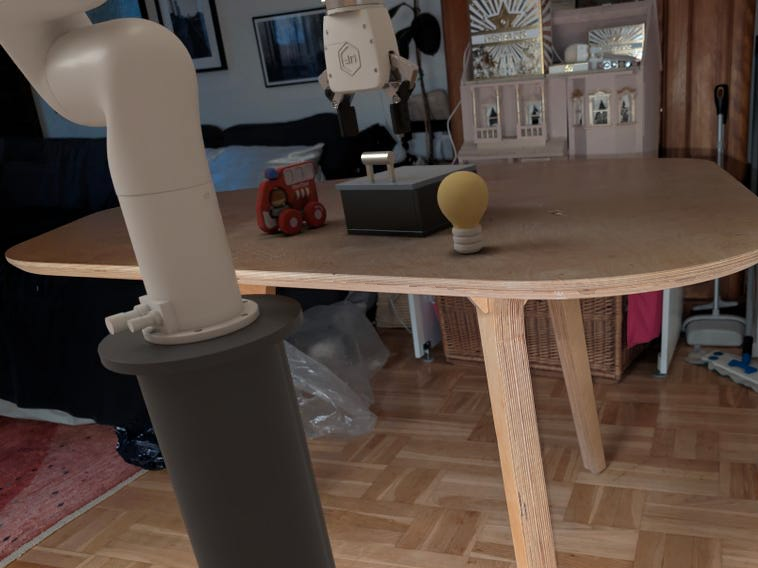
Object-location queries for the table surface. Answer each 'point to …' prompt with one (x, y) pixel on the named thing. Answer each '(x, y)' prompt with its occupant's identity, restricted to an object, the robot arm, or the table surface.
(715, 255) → the table surface
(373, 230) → the compartment
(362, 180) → the lid
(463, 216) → the light bulb
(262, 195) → the toy fire truck
